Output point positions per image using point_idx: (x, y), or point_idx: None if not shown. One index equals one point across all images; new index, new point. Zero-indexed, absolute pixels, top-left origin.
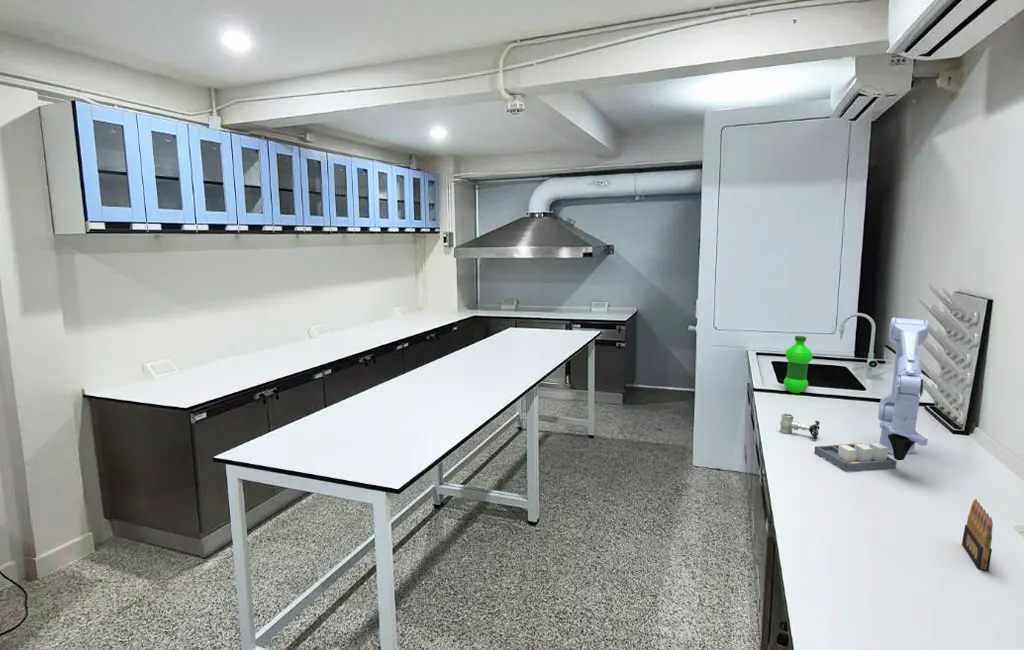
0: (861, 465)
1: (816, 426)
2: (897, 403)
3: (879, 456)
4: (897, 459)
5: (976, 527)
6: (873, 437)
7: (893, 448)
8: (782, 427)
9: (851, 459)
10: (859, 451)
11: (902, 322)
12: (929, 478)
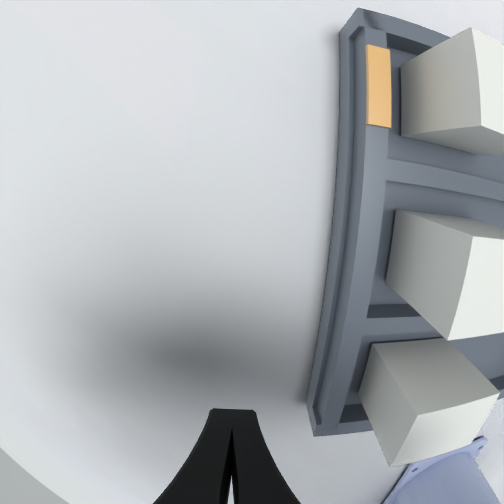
0: (356, 143)
1: None
2: None
3: (388, 370)
4: (214, 412)
5: None
6: (496, 459)
7: (265, 483)
8: None
9: (421, 90)
10: (484, 231)
11: None
12: (165, 444)
